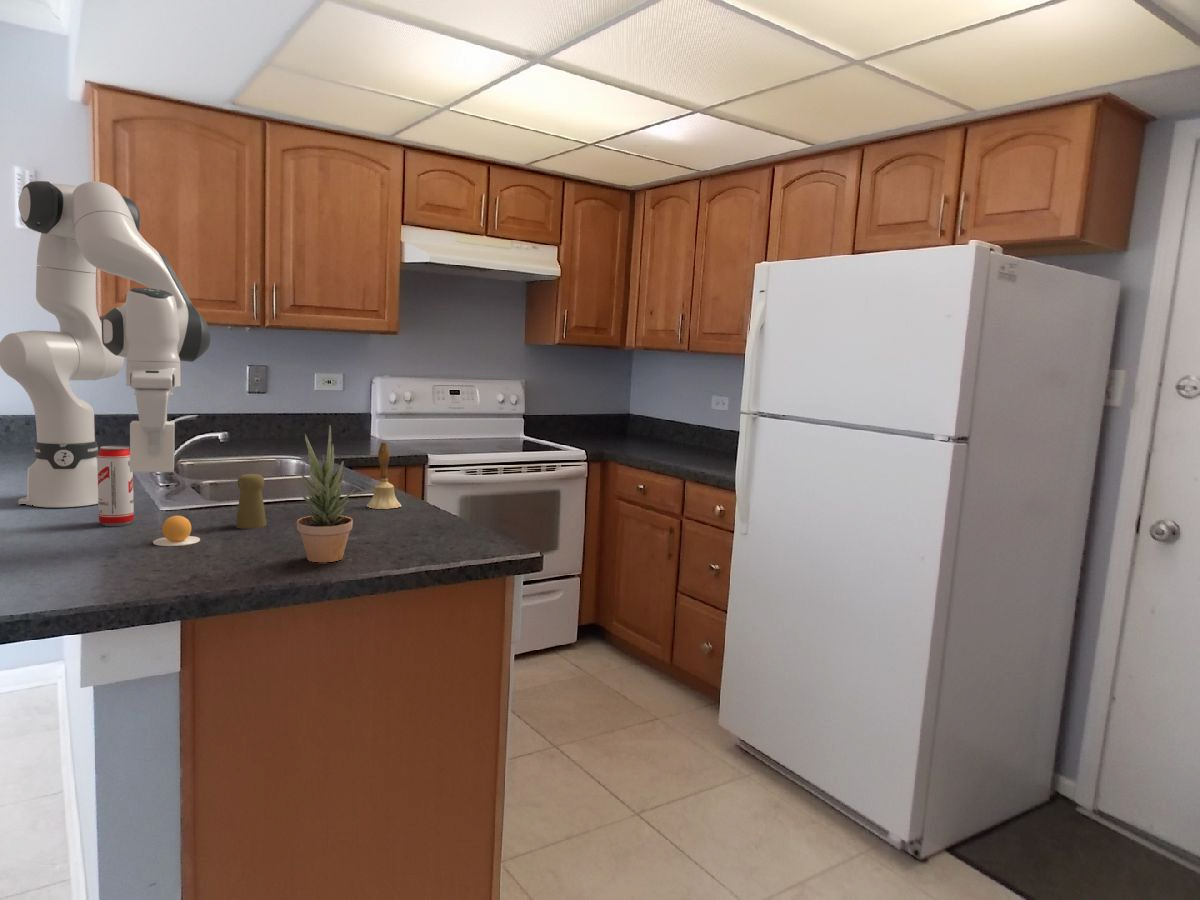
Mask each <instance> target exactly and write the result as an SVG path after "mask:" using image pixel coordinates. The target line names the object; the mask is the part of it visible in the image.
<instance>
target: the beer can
mask: <svg viewBox="0 0 1200 900" xmlns="http://www.w3.org/2000/svg"><path fill="white" fill-rule="evenodd" d="M99 449H100V450H99V452H98V455H97V456H96V458H97V471H98V504H97V505H98V521H99V523H100V524H101V525H102V526H104V525H105V526H104V527H121V526H122V527H123V526H128V525H130V524H131V523H132V522H133V521H134V519H135V508H134V500H135V499H134V472H130V446H128V445H105V446H104V445H103V446H100V447H99Z"/></svg>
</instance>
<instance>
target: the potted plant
mask: <svg viewBox="0 0 1200 900" xmlns="http://www.w3.org/2000/svg"><path fill="white" fill-rule="evenodd" d="M331 427H332V426H331V424H329V426H328V440H327V450H326V458H325V455H324V454H323V455H322V462H321V463H322V467H321V465H320V464H319V461H318V458H317V457H316V454H315V452H314V450H313V448H312V446H311V443H310V441H309V439H308V436H307V435H306V434H304V439H305V443H306V447H307V450H308V452H307V457H308V461H309V462H308V463H309V465H310V467H309V466H307V469H308V470H307V471H308V473H309V476H310V479H311V481H312V482H311V481H309V479H308V478H306V476H305V475H304V474H303V472H300V475H301V477H302V479H303V481H304V484H305V486H306V488H307V491H308V493H309V495H308V497H306V495H304V494H303V493H300V497H302V498H303V499H304V501H306V503H307V504H309V505H310V507H311V508H312V510H313V511H314V512H315V513H314V512H312V511H311V510H310V509H309V508H306V511H307V512H308V513H309V514H310V515H308V516H304V517H301V518H298V519H297V521H296V530H297V531H298V532H299V534H300V537H301V541H302V544H303V548H304V551H305V555H306V557H307V561H308V560H309V561H308V562H310V561H313V562H333V561H338V560H341V559H342V560H343V558H344V554H345V549H346V546H347V543H348V539H349V535H350V532H351V531H352V530H353V526H354V525H353V523H354V520H353V518H352V517H350V516H346V515H342V513H344V510H345V509H344V507H345V506H346V505H347V503H348V501H349V500H350V498H349V497H350V496H351V495H352V494H353V493H354V492H356V488H354V489H352V491H350V492H349V493H348V494H346V495H345V496H343V498H341V496H342V495H343V493H344V490H343V489H342V487H341V486H342V483H343V480H344V478H345V475H344V474H342V471H343V467H344V461H341V463H340V465H339V467H338V468H337V470H336V471H335V472H334V473H333V471H334V464H335V463H334V462H335V453H334V450H335V449H334V443H332V428H331ZM325 459H326V460H325ZM310 468H311V469H310ZM340 498H341V499H340ZM339 499H340V500H339ZM342 560H341V561H342ZM313 562H312V563H313ZM338 562H339V561H338Z"/></svg>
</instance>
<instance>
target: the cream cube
mask: <svg viewBox="0 0 1200 900" xmlns="http://www.w3.org/2000/svg"><path fill="white" fill-rule="evenodd" d="M175 422H176V421H173V420H172V421H169V420H167V421H166V424H165V428H164V430H163V431H160V432H161V436H160V453H159V454H153V455H151V454H149V445H148V439H147V431H142V429H141V426H140V421H139V420H132V421H131V422H130V423H129V451H130V472H133V473H174V470H175V427H176V425H175Z"/></svg>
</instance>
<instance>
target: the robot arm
mask: <svg viewBox="0 0 1200 900" xmlns="http://www.w3.org/2000/svg"><path fill="white" fill-rule="evenodd" d="M17 207H18V211H19V214H20V219H21V221H22V222H23V224H24V225H25V226H26V227H27V228H28V229H29V230H32V231H34V232H37V233H41V234H40V238H39V241H38V247H37V257H36V274H35V276H36V279H35V298H36V301H37V303H38V304H39V306H40V307H41V308H42V309H44V310H45V311H47V312H48V313H50V314H52V315H54V317H55V318H56V319H57V321H58V324H59V331H56V330H55V331H54V330H52V331H51V330H49V331H48V330H32V329H31V330H25V331H24V330H23V331H18V332H17V331H16V332H13V333H8V334H6V335H4V337H3V338H2V339H1V340H0V368H1V370H2V371H4V373H5V374H6V375H7V376H9V377H11V378H12V379H14V380H15V381H16V382H17V383H18V384H19V385H20V386H21V387H22V388H23V389H24V391H25V392H26V393H27V395H28V397H29V399H30V401H31V403H32V407H33V411H34V417H35V418H34V419H35V425H36V441H35V442H34V449H33V450H34V457H35V459H36V460H35V461H34V462H33V463H31V465H30V466H28V467H27V476H26V479H27V480H26V481H27V482H26V483H27V484H26V485H27V487H26V493H27V495H26V496H24V497H22V498H20V499H19V498H18V501H17V504H18V505H20V504H26V505H25V506H32V505H33V506H32V507H39V508H74V507H84V506H85V507H86V506H91V505H98V471H97V455H98V453H99V452H98V451H99V446H98V442H97V440H96V436H95V434H96V431H95V429H96V428H95V411H94V408H93V406H91V403H89V402H87V401H86V400H84V399H82V398H80V397H78V396H76V395H75V393H74V392H73V389H72V388H71V385H70V381H98V380H102V379H107V378H111V377H114V376H116V375H117V376H118V374H119V373H120V372H121V370H122V367H123V365H124V362H125V381H126V386H127V387H130V388H131V389H133V390H134V396H135V399H136V406H137V407H136V408H137V413H138V421H140V426H141V429H142V431H147V439H148V445H149V454H151V455H153V454H159V453H160V436H161V432H160V431H163V430H164V428H165V424H166V421H168V403H169V398H170V396H172V397H173V396H174V389H175V388H180V387H181V385H182V384H181V362H189V363H190V362H191V363H193V362H195V361H196V360H198V359H199V358H200V357H202V356H203V355H204V354H205V353H206V352H207V351H208V349H210V345H211V332H210V328H209V325H208V323H207V321H206V320H205V319H204V317H203V316H202V315H201V313H200V312H199V311H198V310H197V309H196V307H195V306H194V305H193V303H192V300H191V299H190V297H189V295H188V293H187V292H186V290H185V288H184V287H183V285H182V283H181V281H180V279H179V278H178V276H177V274H176V272H175V270H174V269H173V267H172V265H171V264H170V262H169V260H168V258H167V257H166V256H165V255H164V254H163V253H162V252H161V251H159V250H157V249H156V248H154V247H153V246H152V245H151V244H150V243H149V242H148V241H147V240H145V238H144V237H143V236H142V234H141V233H140V232H139V231H140V227H141V214H140V210H139V207H138V205H137V204H136V202H135V201H134V200H133V199H131V198H130V197H127V196H124V195H123V194H122V195H121V193H120V192H119V191H118V190H117V189H116V188H115V187H113V186H112V185H110V184H108V183H106V182H101V181H95V180H94V181H87V182H83V183H81V184H78V186H77V185H70V184H63V183H52V182H49V181H48V180H47V181H46V180H35V181H29V182H28V183H26V185H24V186H23V187H22V190H21V192H20V195H19V198H18V206H17ZM97 269H98V270H100V271H102V272H104V273H107V274H109V275H110V274H111V275H114V276H117V277H121V278H124V279H127V280H130V281H134V282H136V283H139V284H141V285H143V286H145V287H135V288H134V287H133V288H131V289H129V290H128V291H127V294H126V299H125V302H124V303H123V304H122V305H120V306H119V307H114V308H112V309H111V310H108V312H106V314H105V315H104V316H103V317H102V318H101V319H100V317H99V313H98V307H97V293H96V291H97V285H96V284H97Z"/></svg>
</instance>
